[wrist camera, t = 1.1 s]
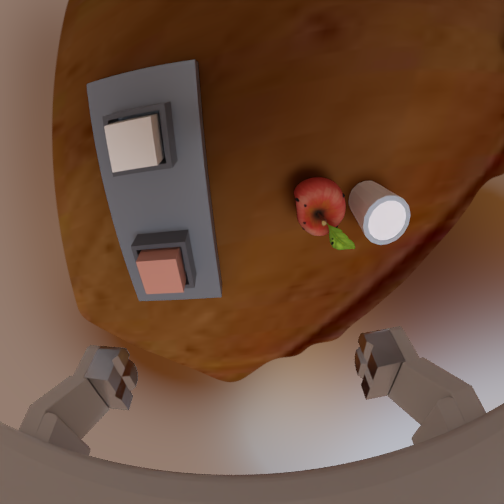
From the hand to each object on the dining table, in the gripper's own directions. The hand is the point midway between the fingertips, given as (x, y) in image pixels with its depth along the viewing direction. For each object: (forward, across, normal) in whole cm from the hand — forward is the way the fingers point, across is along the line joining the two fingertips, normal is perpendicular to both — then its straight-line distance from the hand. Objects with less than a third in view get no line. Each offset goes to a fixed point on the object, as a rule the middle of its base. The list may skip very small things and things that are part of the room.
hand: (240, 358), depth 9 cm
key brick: (+25, +11, +10) cm, 29 cm away
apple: (+30, -9, +4) cm, 32 cm away
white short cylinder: (+31, -17, +5) cm, 35 cm away
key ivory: (+23, +11, -6) cm, 27 cm away
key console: (+29, +11, +1) cm, 31 cm away
